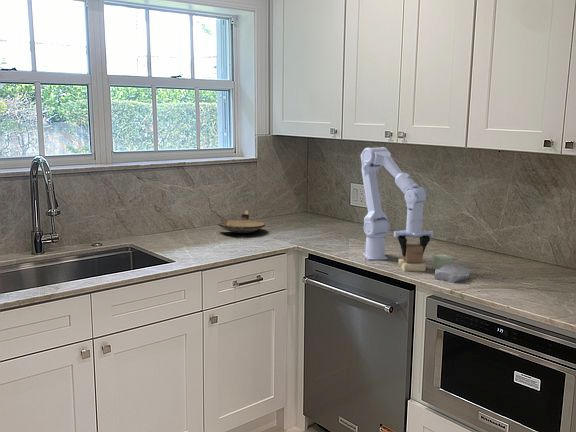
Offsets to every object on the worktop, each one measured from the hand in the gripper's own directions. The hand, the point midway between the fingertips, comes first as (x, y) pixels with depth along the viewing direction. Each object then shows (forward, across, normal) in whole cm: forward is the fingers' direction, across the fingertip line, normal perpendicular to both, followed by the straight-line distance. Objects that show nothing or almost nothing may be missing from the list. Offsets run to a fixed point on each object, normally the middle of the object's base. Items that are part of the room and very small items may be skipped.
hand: (412, 255), depth 212 cm
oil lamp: (+5, -62, +67) cm, 91 cm away
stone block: (+5, +11, -13) cm, 18 cm away
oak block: (+5, 0, 0) cm, 5 cm away
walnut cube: (+2, 0, 0) cm, 2 cm away
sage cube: (+5, +11, -2) cm, 12 cm away
